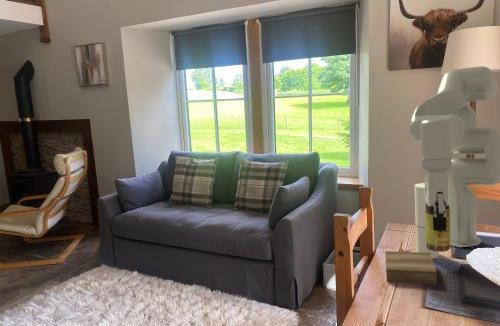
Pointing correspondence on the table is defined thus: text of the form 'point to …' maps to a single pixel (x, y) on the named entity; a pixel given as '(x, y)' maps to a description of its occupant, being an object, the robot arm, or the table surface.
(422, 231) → the cylindrical container
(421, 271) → the walnut plinth
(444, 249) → the sauce bottle
